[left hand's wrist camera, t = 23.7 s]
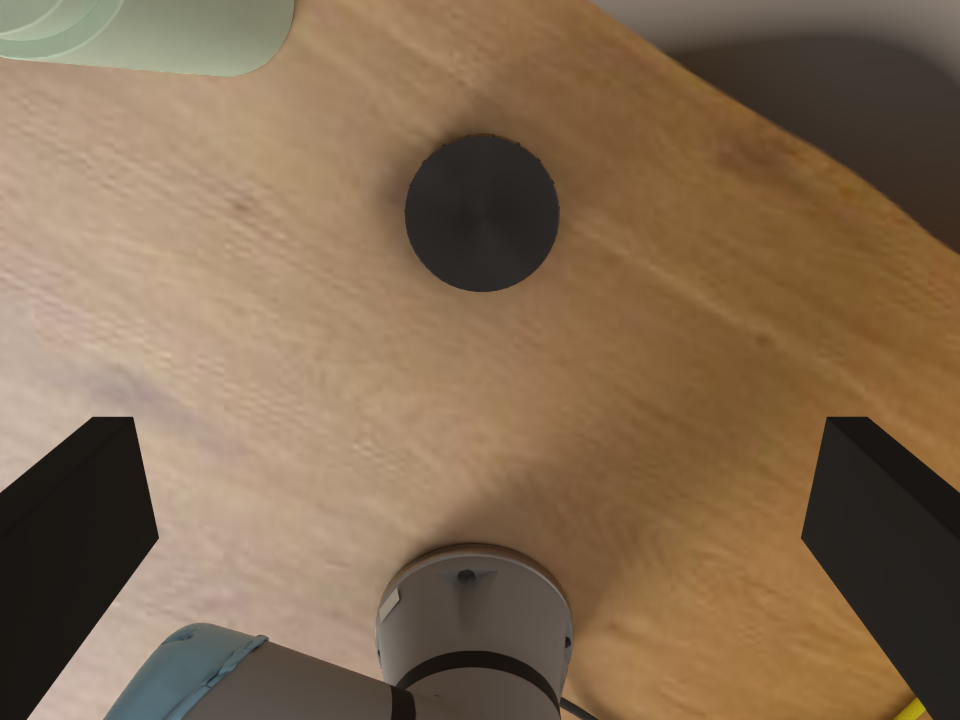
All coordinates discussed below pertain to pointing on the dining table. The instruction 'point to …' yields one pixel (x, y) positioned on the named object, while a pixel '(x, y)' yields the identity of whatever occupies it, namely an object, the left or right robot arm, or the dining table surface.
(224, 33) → the jar
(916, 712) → the pencil
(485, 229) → the lid
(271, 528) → the dining table surface
